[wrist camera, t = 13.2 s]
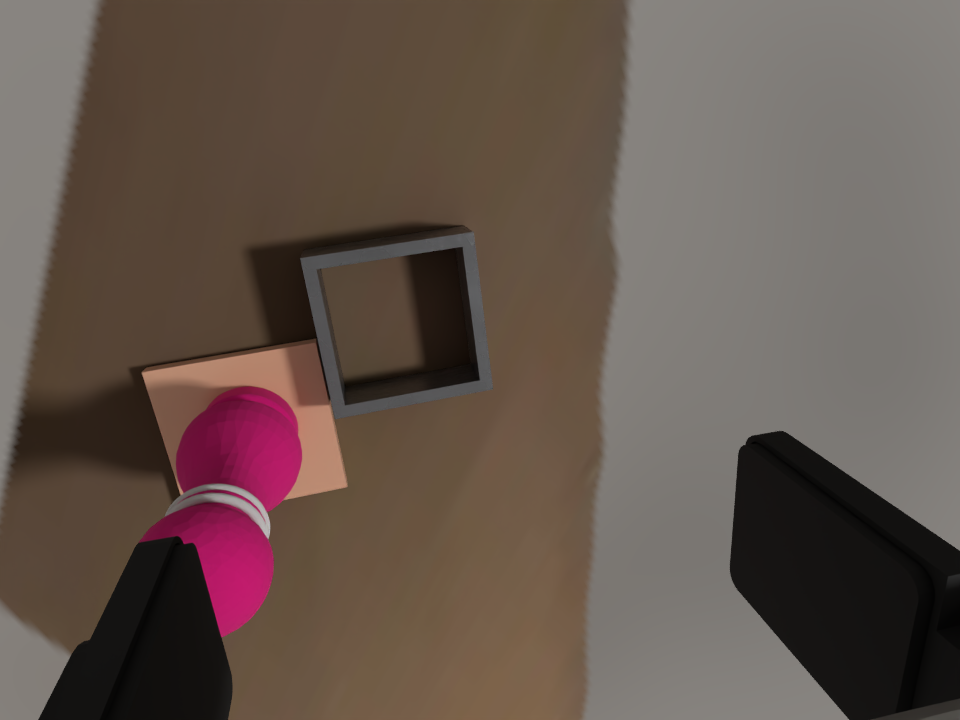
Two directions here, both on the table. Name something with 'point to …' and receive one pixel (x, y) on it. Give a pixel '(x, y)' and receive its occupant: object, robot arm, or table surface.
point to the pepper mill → (234, 495)
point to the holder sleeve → (415, 385)
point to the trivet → (274, 368)
